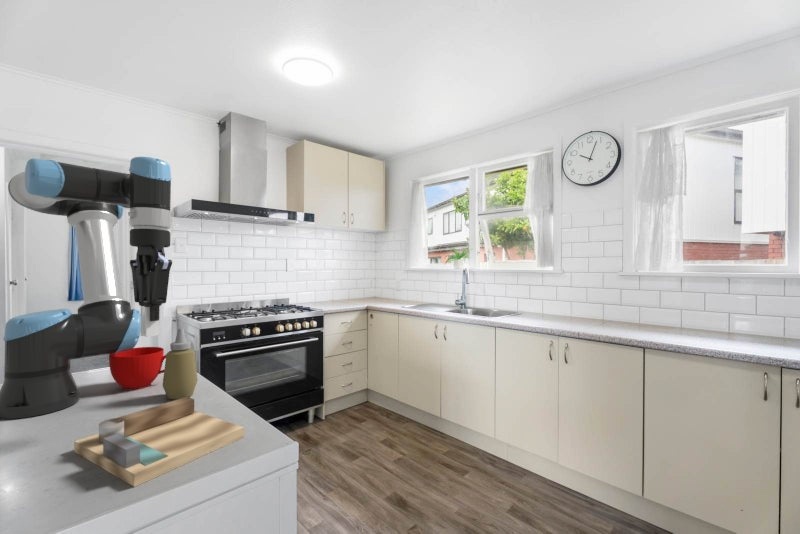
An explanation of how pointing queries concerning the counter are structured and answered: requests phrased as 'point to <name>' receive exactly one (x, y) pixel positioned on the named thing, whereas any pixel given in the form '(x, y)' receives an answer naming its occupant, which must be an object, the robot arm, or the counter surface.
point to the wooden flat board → (158, 447)
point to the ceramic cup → (136, 366)
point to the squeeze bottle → (180, 369)
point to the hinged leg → (146, 418)
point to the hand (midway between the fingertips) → (150, 335)
